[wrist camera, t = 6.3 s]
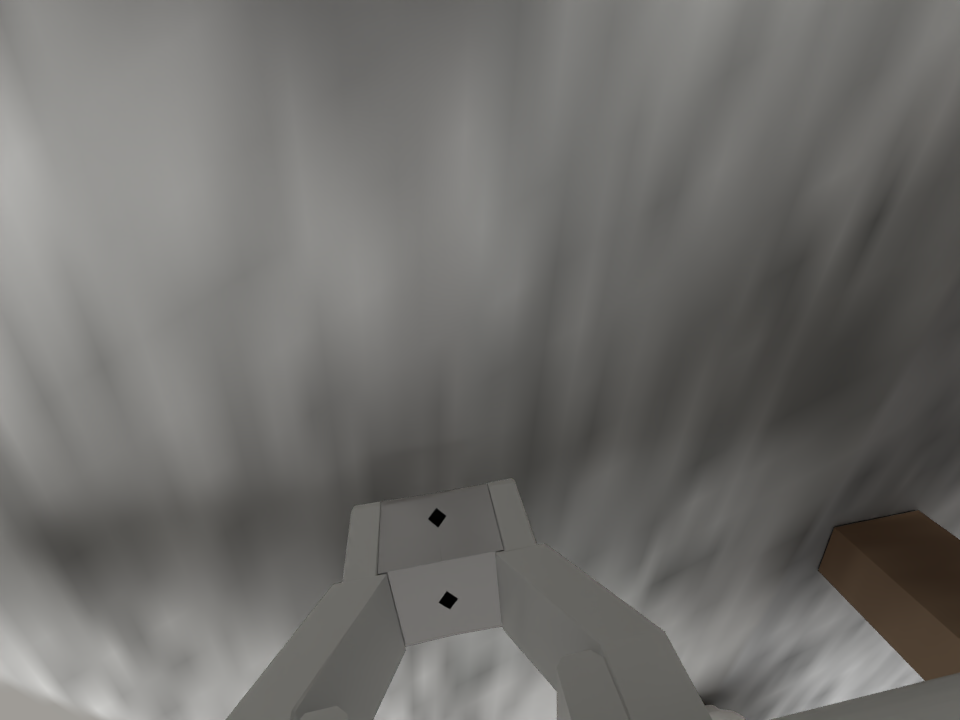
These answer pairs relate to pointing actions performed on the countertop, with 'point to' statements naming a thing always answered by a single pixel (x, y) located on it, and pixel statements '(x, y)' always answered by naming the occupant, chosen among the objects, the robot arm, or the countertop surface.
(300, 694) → the robot arm
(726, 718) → the lightbulb
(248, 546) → the countertop surface
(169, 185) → the countertop surface
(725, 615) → the countertop surface
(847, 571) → the bridge
